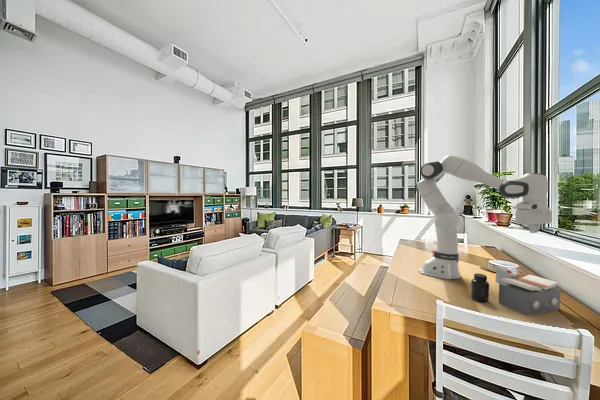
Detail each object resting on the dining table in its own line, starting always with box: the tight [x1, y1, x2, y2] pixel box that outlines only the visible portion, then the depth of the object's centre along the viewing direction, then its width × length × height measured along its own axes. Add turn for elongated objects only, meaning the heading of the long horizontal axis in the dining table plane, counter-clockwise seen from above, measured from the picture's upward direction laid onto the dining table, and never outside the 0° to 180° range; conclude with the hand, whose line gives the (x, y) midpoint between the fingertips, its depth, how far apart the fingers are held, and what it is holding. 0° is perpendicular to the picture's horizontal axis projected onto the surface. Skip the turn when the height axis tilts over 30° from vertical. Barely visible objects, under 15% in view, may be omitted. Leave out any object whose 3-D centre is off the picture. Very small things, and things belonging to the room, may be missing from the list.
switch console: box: [498, 283, 562, 316], centre depth 103 cm, size 20×12×9 cm, turn 105°
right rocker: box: [518, 274, 559, 290], centre depth 105 cm, size 8×10×2 cm
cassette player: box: [495, 265, 520, 285], centre depth 124 cm, size 16×3×10 cm, turn 163°
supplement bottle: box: [470, 273, 490, 304], centre depth 109 cm, size 7×7×12 cm
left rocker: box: [502, 278, 542, 291], centre depth 102 cm, size 8×10×2 cm
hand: (533, 232), depth 116 cm, fingers closed
